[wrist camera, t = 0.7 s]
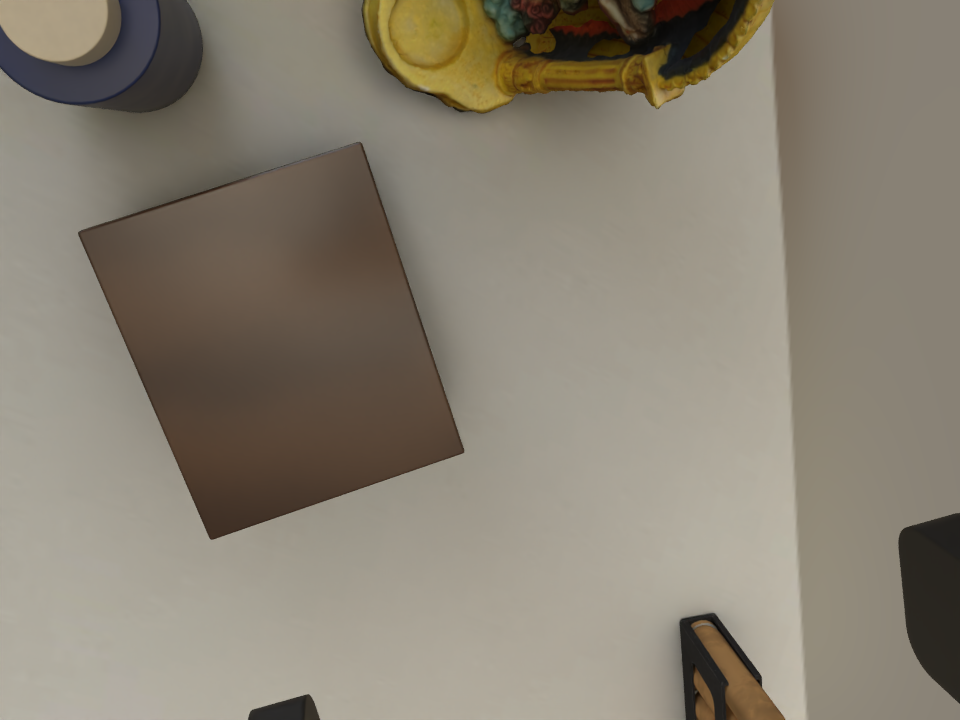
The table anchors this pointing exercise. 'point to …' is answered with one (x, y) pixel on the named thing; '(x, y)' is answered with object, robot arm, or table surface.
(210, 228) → the brown wooden stand
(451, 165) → the table surface
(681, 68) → the shrine
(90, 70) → the bottle
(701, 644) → the ammunition clip
